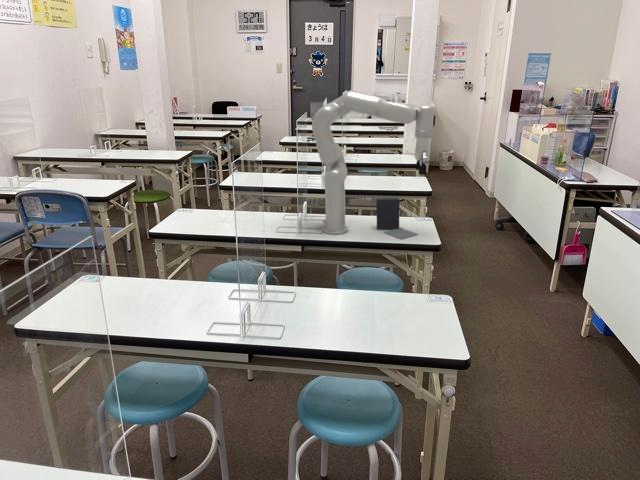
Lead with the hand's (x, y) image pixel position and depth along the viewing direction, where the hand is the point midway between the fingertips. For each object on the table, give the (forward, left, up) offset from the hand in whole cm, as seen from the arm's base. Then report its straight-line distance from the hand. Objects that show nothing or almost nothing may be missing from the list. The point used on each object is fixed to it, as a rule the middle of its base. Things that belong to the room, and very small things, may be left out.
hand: (420, 172), depth 217 cm
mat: (-5, -6, -30) cm, 31 cm away
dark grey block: (-15, -5, -30) cm, 34 cm away
